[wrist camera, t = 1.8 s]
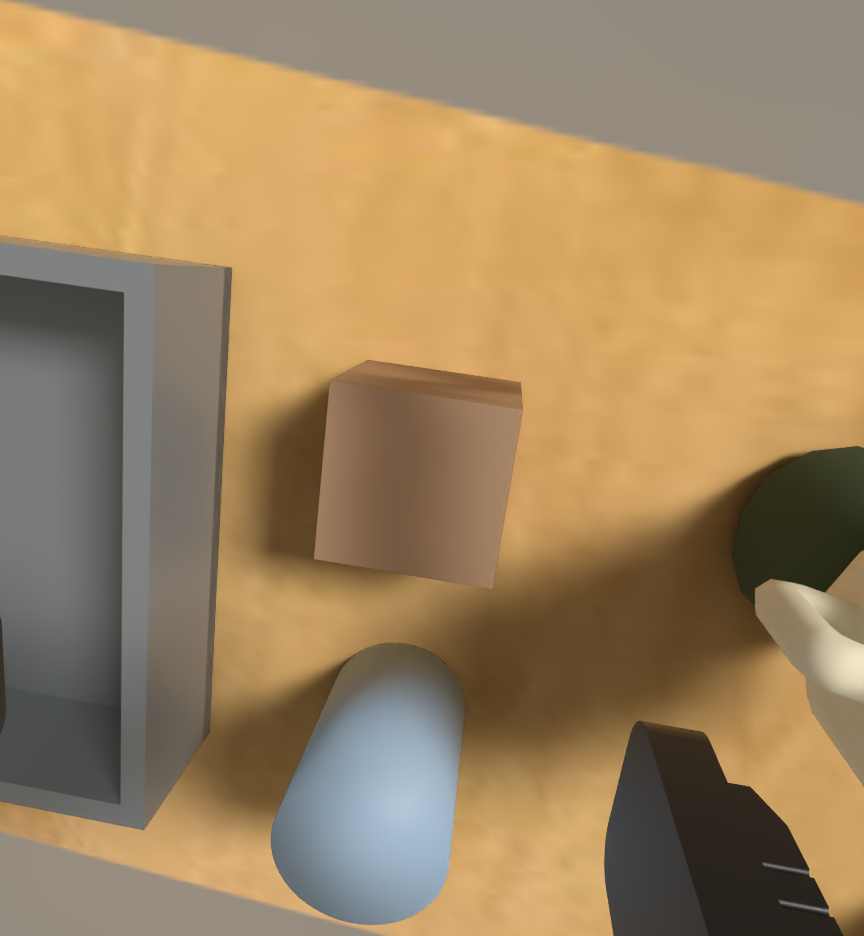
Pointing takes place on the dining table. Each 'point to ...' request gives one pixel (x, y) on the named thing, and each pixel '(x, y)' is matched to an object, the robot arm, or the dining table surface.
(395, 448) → the walnut cube
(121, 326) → the tote
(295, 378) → the dining table surface
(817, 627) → the character mug
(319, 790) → the blue cylinder
